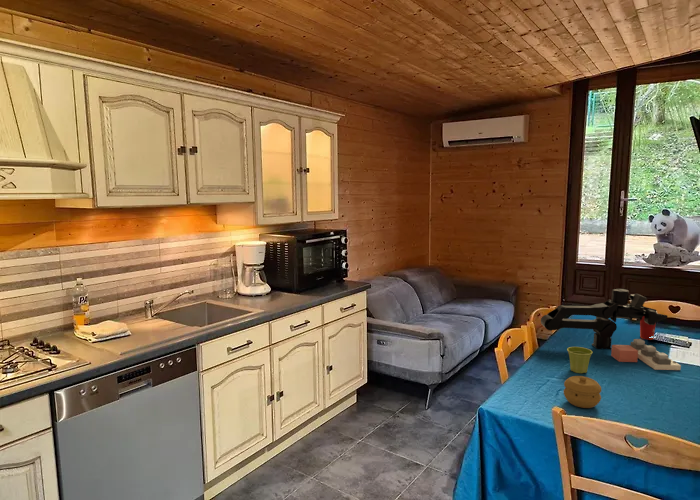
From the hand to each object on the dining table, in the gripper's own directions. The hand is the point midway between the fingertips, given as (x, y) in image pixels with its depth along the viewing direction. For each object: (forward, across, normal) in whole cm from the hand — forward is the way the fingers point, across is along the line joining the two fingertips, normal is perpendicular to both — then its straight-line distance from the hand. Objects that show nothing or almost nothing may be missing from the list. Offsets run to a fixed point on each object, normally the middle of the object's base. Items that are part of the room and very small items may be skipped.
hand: (661, 313), depth 219 cm
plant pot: (-46, -31, +18) cm, 58 cm away
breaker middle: (-11, -15, +13) cm, 23 cm away
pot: (-56, -62, +18) cm, 86 cm away
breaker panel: (-10, -15, +17) cm, 25 cm away
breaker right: (-11, -24, +13) cm, 29 cm away
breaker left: (-11, -6, +13) cm, 18 cm away
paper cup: (+3, +15, +17) cm, 23 cm away
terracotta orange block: (-22, -15, +17) cm, 31 cm away
